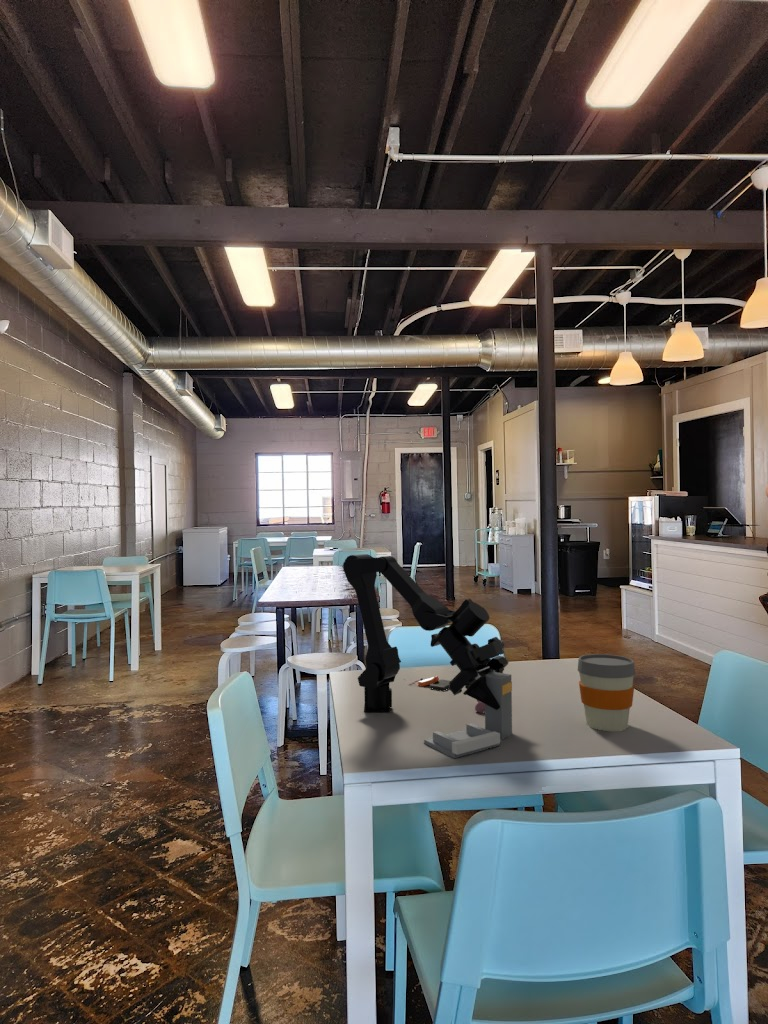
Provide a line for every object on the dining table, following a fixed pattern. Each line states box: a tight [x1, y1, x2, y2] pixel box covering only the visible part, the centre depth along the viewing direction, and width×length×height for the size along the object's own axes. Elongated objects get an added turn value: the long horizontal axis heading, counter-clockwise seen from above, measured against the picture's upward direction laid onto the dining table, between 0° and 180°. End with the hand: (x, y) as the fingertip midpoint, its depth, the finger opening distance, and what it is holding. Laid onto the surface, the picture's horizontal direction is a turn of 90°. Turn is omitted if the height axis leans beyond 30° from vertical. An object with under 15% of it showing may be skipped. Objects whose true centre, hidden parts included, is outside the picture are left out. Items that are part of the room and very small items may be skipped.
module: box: [484, 672, 513, 741], centre depth 137 cm, size 4×5×13 cm
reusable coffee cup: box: [577, 653, 636, 732], centre depth 143 cm, size 12×13×15 cm
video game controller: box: [474, 699, 485, 714], centre depth 157 cm, size 10×5×7 cm, turn 169°
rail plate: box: [423, 722, 501, 759], centre depth 131 cm, size 11×12×3 cm
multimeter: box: [409, 675, 451, 691], centre depth 180 cm, size 18×12×3 cm, turn 53°
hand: (504, 705), depth 137 cm, fingers closed on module, 5 cm apart
